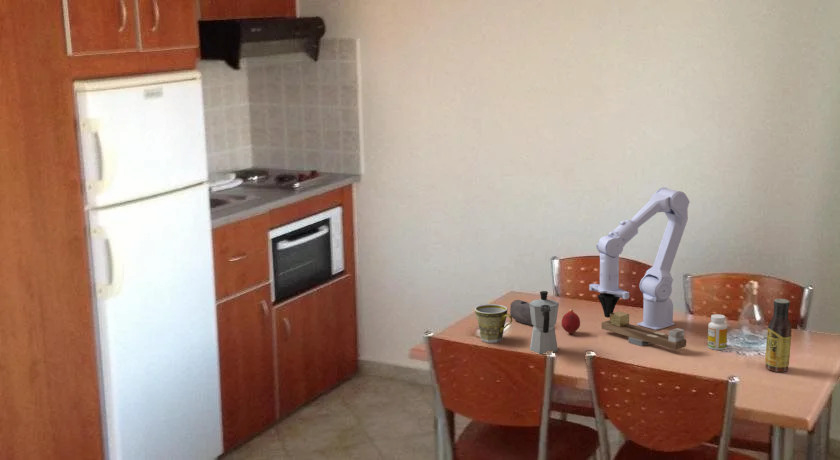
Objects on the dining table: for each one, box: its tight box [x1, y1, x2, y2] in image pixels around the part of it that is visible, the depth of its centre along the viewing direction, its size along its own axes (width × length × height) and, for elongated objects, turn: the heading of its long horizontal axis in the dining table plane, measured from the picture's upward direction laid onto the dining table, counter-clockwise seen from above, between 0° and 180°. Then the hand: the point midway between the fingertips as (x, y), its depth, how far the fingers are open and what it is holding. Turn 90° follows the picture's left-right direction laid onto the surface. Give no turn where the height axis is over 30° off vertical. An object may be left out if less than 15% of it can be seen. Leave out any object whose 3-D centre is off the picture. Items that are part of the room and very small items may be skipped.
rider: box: [609, 310, 630, 327], centre depth 294 cm, size 4×4×5 cm
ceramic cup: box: [474, 303, 513, 344], centre depth 292 cm, size 13×10×10 cm
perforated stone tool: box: [509, 299, 533, 327], centre depth 308 cm, size 15×5×7 cm, turn 37°
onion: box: [561, 308, 581, 335], centre depth 297 cm, size 6×6×8 cm
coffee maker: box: [528, 290, 560, 355], centre depth 280 cm, size 15×9×18 cm, turn 178°
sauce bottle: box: [764, 298, 793, 373], centre depth 260 cm, size 6×6×20 cm
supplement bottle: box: [707, 313, 728, 351], centre depth 281 cm, size 5×5×10 cm
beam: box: [601, 319, 687, 351], centre depth 288 cm, size 7×28×6 cm, turn 38°
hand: (608, 316), depth 298 cm, fingers closed
